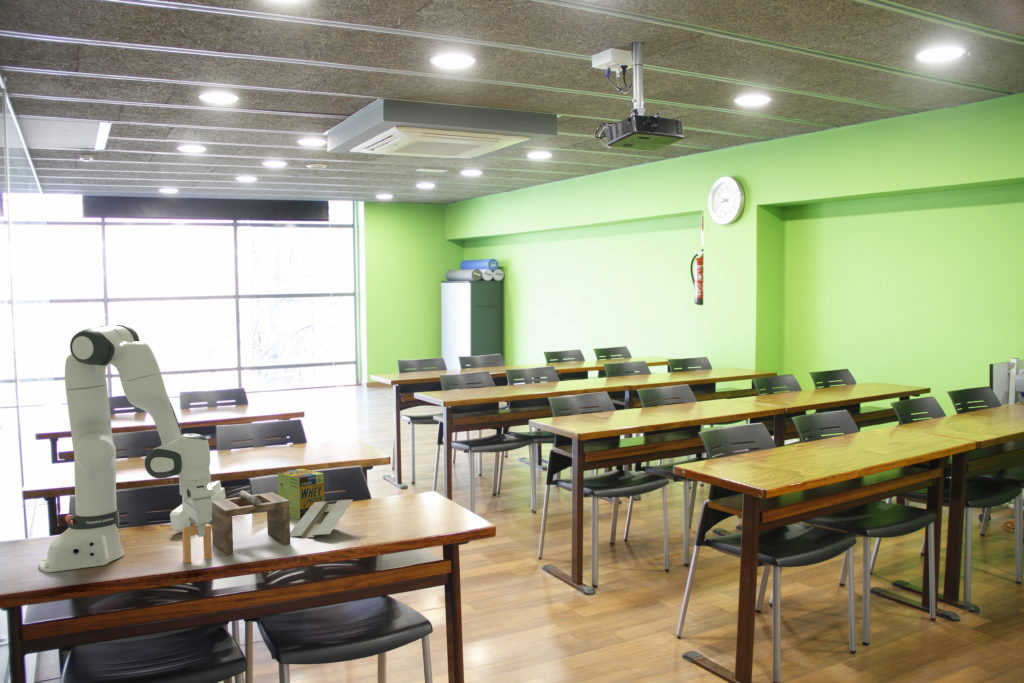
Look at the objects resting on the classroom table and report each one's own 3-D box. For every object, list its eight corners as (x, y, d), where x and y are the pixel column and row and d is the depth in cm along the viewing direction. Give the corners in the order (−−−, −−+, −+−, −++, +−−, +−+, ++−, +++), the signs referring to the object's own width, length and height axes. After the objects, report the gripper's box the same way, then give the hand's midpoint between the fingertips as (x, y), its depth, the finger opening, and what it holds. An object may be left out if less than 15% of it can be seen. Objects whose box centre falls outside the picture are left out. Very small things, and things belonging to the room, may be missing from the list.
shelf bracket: (230, 514, 289) (225, 480, 286) (188, 550, 263) (181, 513, 260) (216, 514, 290) (211, 480, 287) (172, 549, 264) (166, 513, 261)
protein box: (300, 520, 278) (299, 477, 278) (278, 513, 289) (277, 472, 288) (325, 514, 286) (324, 473, 285) (302, 508, 296) (301, 467, 296)
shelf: (226, 555, 237) (225, 504, 237) (212, 544, 250) (210, 494, 250) (290, 543, 249) (289, 494, 249) (273, 533, 262) (272, 486, 262)
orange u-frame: (185, 563, 231) (184, 529, 230) (183, 560, 233) (182, 527, 233) (212, 558, 235) (211, 525, 235) (209, 555, 238) (208, 523, 237)
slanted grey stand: (346, 551, 256) (364, 508, 267) (329, 533, 250) (349, 491, 262) (302, 553, 264) (322, 511, 275) (286, 536, 258) (306, 495, 270)
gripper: (176, 483, 240) (177, 527, 241) (192, 494, 224) (194, 542, 224) (197, 480, 244) (198, 523, 244) (215, 491, 227) (216, 538, 228)
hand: (196, 532), depth 234 cm, fingers open, 8 cm apart
